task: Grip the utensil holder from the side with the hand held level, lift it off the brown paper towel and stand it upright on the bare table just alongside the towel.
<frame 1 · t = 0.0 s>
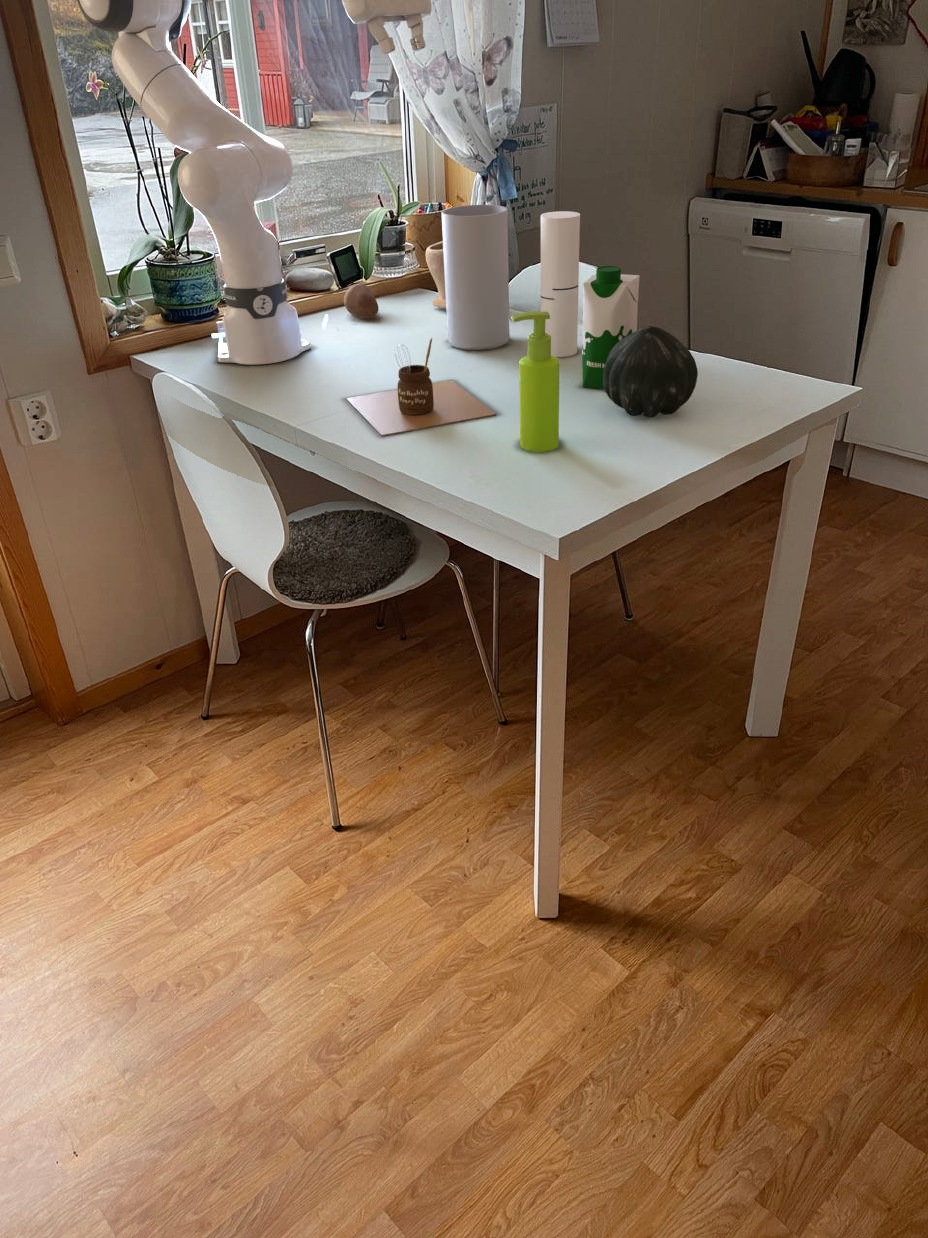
hand: (404, 50, 151), 52 cm above the table, tool tilted 20°, fingers open, 8 cm apart
cylindrical container: (558, 352, 187), on the table
cylinder vase: (478, 342, 195), on the table
soap dispenser: (536, 446, 147), on the table
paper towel: (419, 406, 164), on the table
stone cup: (459, 311, 217), on the table
squash: (648, 410, 158), on the table
milk carton: (607, 383, 170), on the table
potato: (361, 317, 216), on the table
utensil holder: (417, 411, 162), resting on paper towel
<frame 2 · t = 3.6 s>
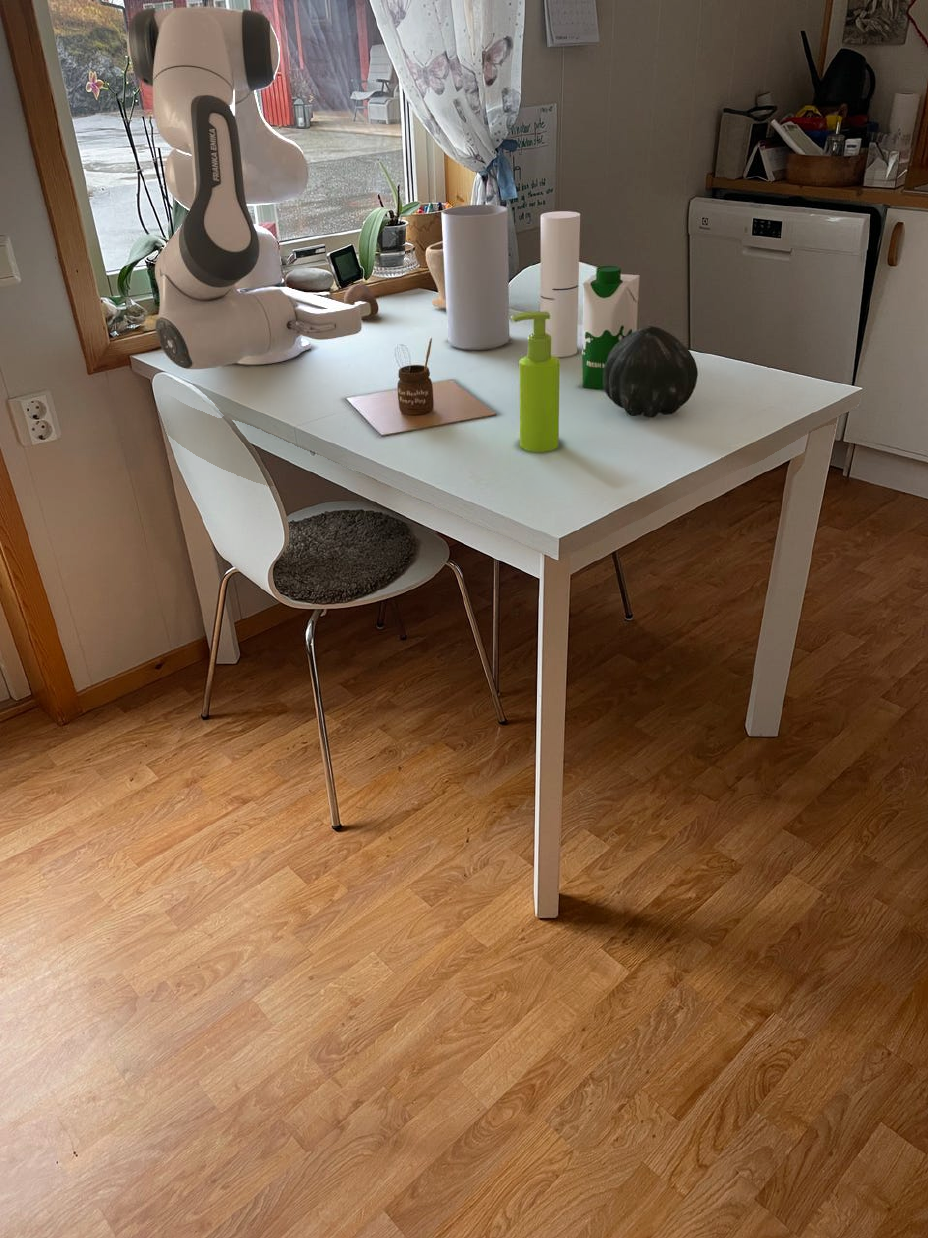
hand: (348, 302, 145), 20 cm above the table, tool horizontal, fingers open, 8 cm apart
nothing on the table moved.
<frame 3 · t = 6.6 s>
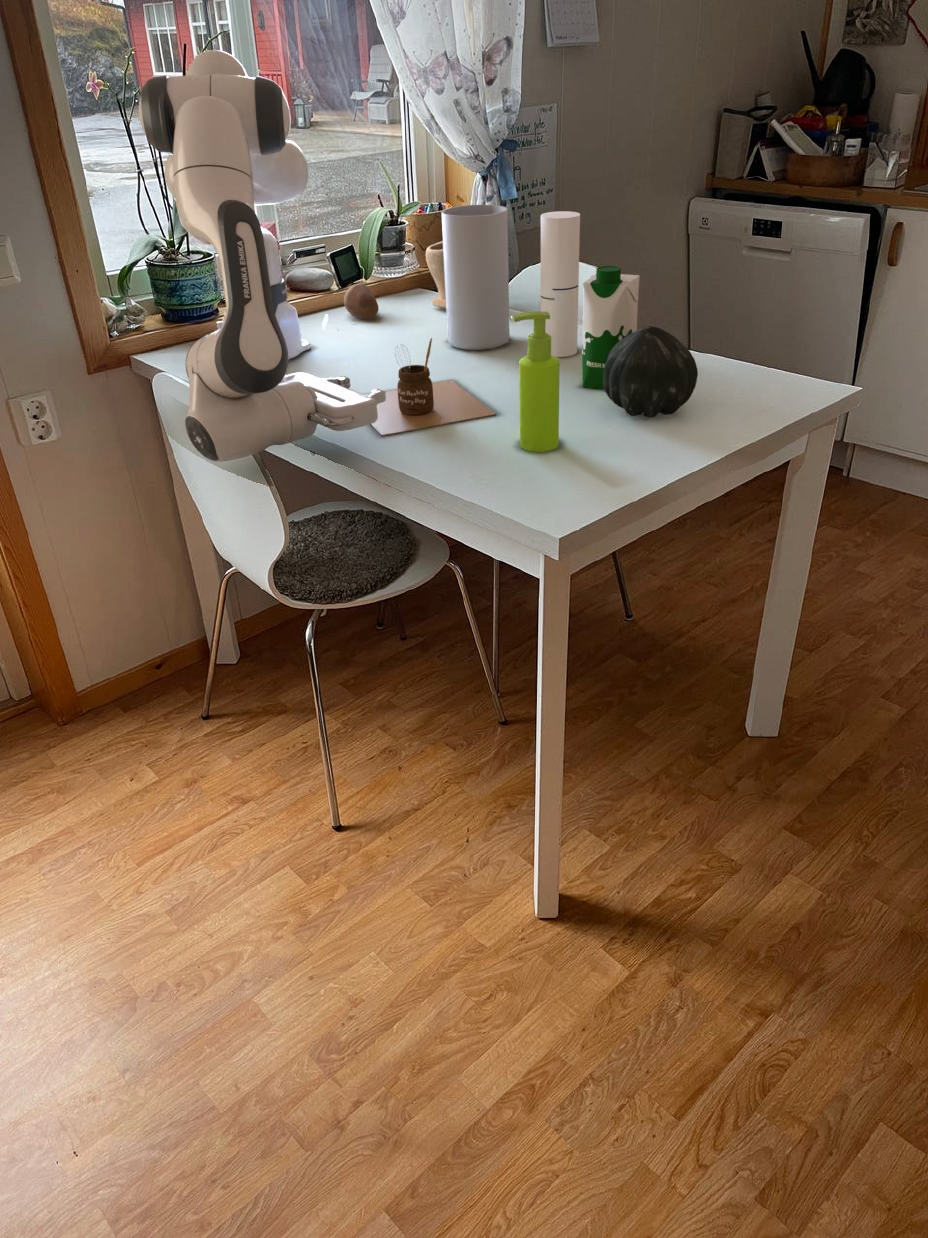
hand: (365, 387, 153), 7 cm above the table, tool horizontal, fingers open, 8 cm apart
nothing on the table moved.
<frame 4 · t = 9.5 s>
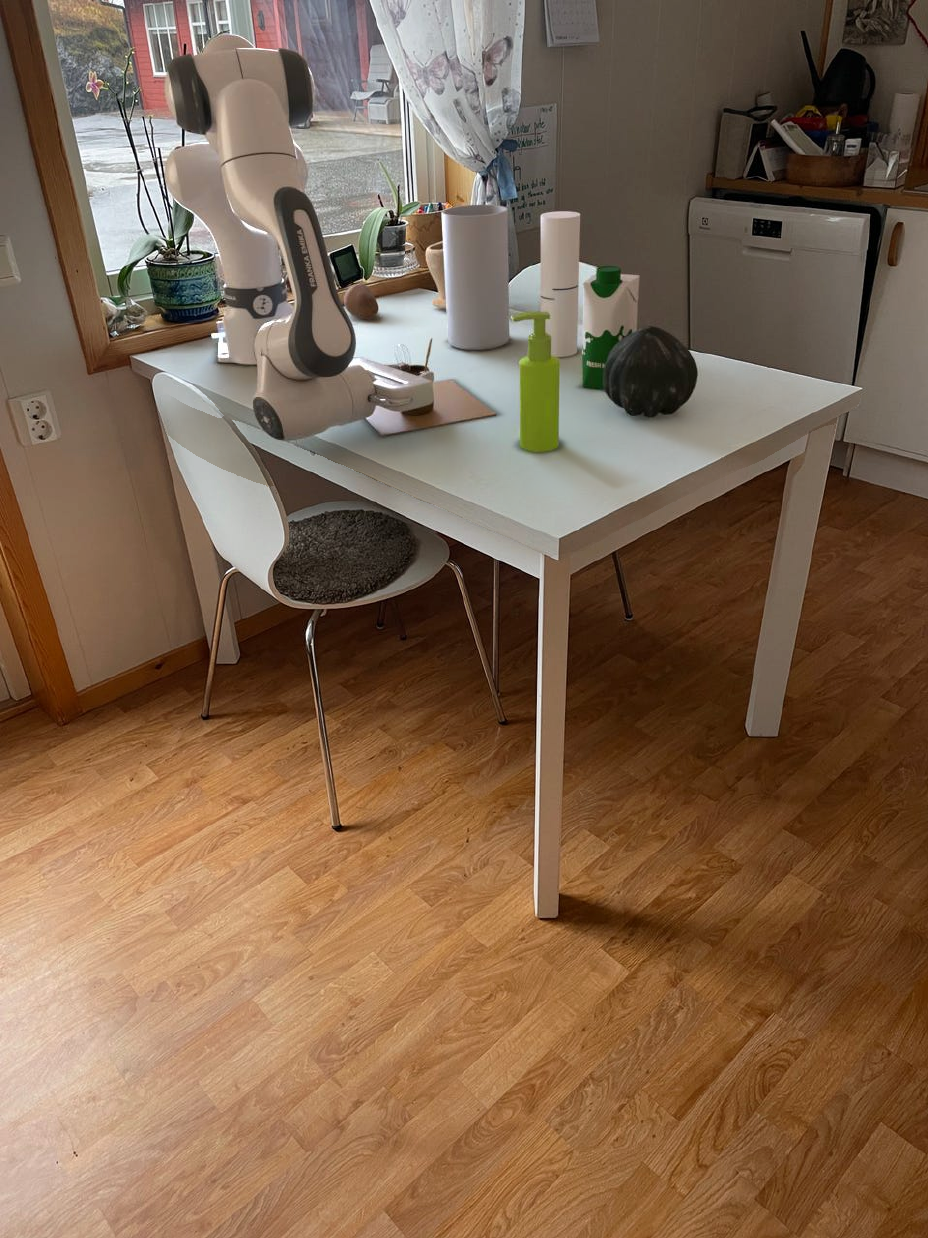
hand: (418, 371, 159), 7 cm above the table, tool horizontal, fingers closed on utensil holder, 5 cm apart
utensil holder: (417, 411, 162), resting on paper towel, touching gripper
everything else where it was.
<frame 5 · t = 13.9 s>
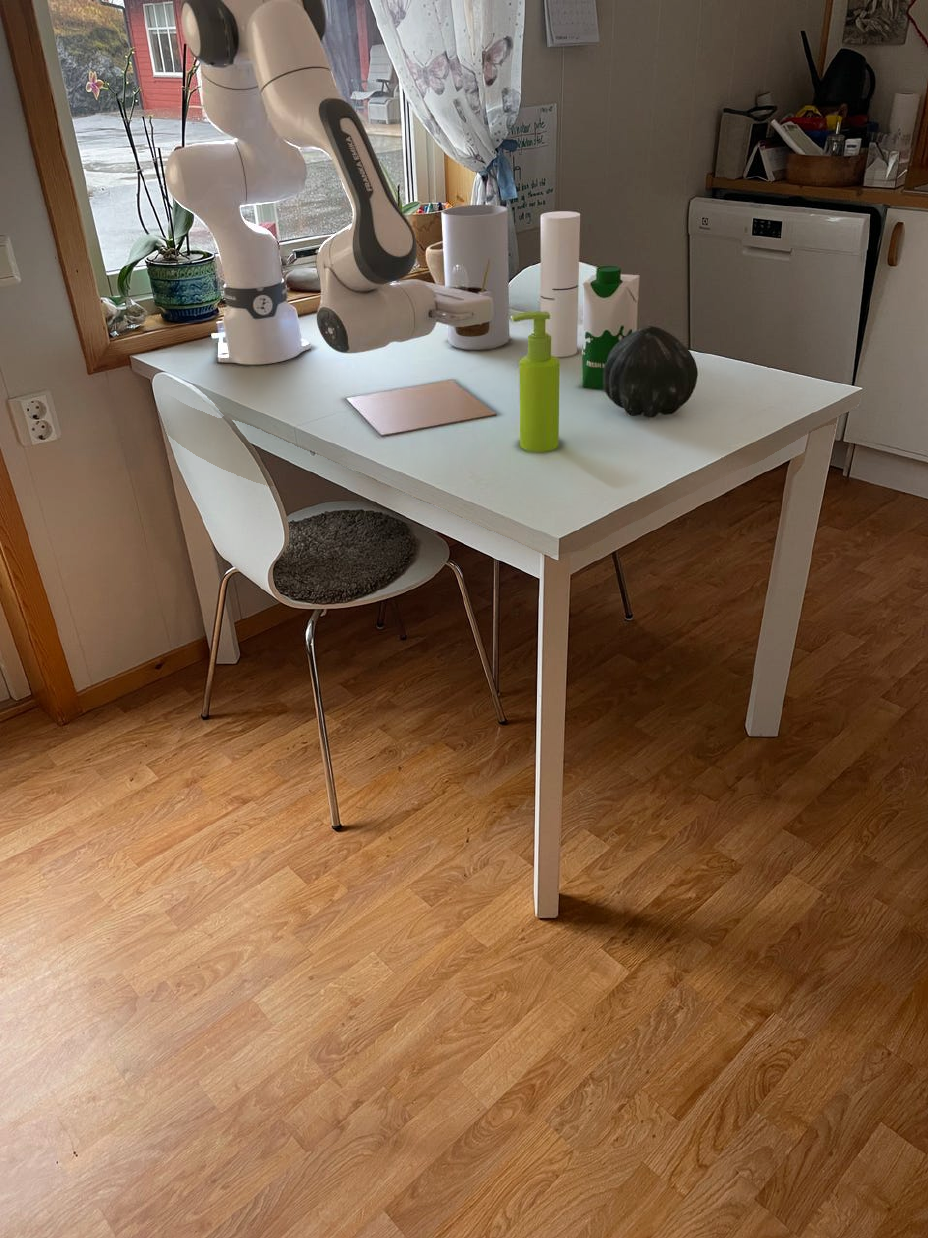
hand: (475, 293, 161), 17 cm above the table, tool horizontal, fingers closed on utensil holder, 5 cm apart
utensil holder: (473, 333, 164), point 10 cm above the table, touching gripper
everything else where it was.
when the fingers open (6 cm above the table, at t = 18.3 s): utensil holder stays where it is, on the table.
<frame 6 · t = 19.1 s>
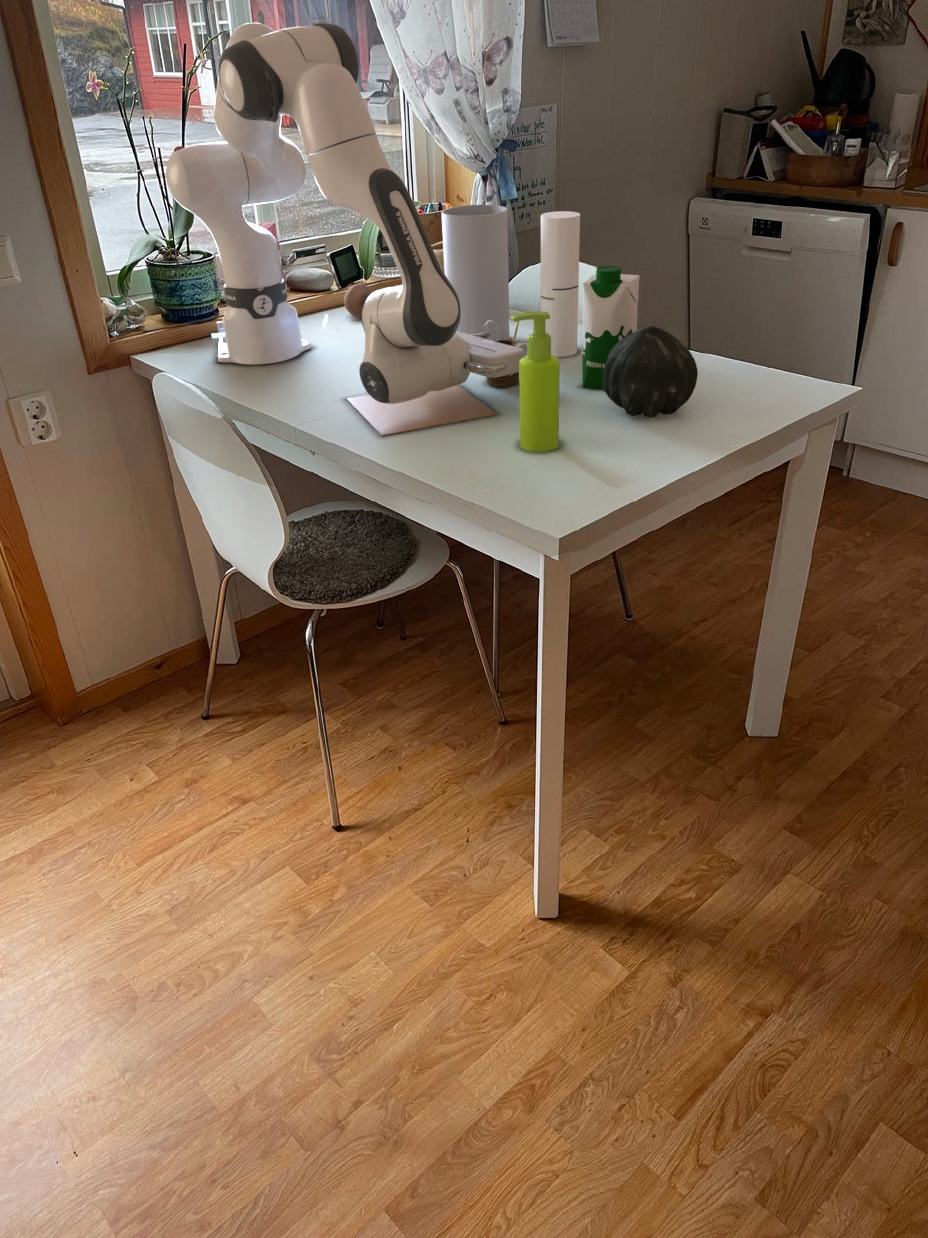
hand: (505, 342, 170), 7 cm above the table, tool horizontal, fingers open, 8 cm apart
utensil holder: (503, 383, 173), on the table
everything else where it was.
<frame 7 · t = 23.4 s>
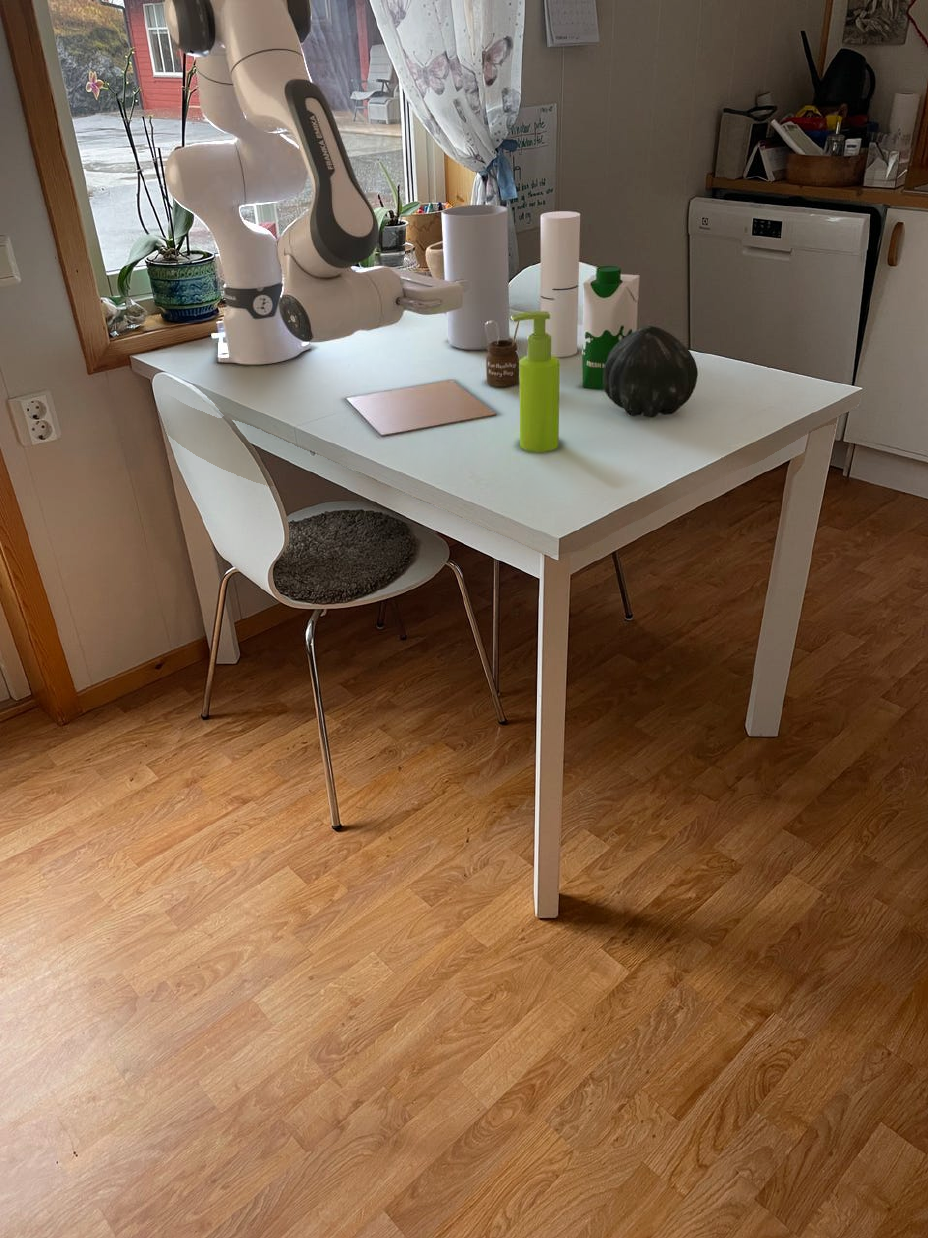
hand: (446, 280, 156), 20 cm above the table, tool horizontal, fingers open, 8 cm apart
nothing on the table moved.
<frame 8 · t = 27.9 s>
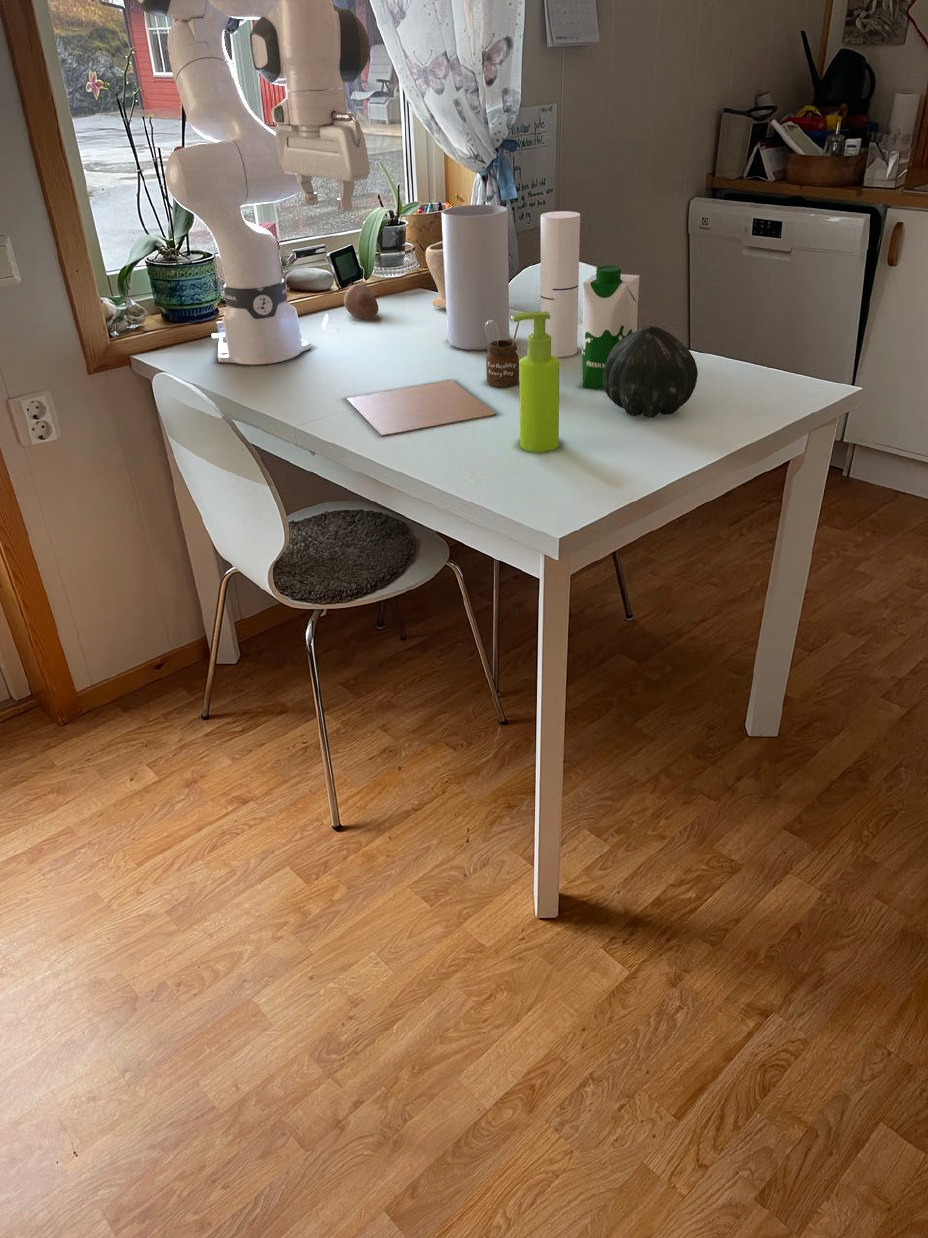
hand: (328, 207, 154), 31 cm above the table, tool pointing down, fingers open, 8 cm apart
nothing on the table moved.
at the end: utensil holder inside the target area (0.1 cm from its centre), on the table; utensil holder touching table; utensil holder tilted 0° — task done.
